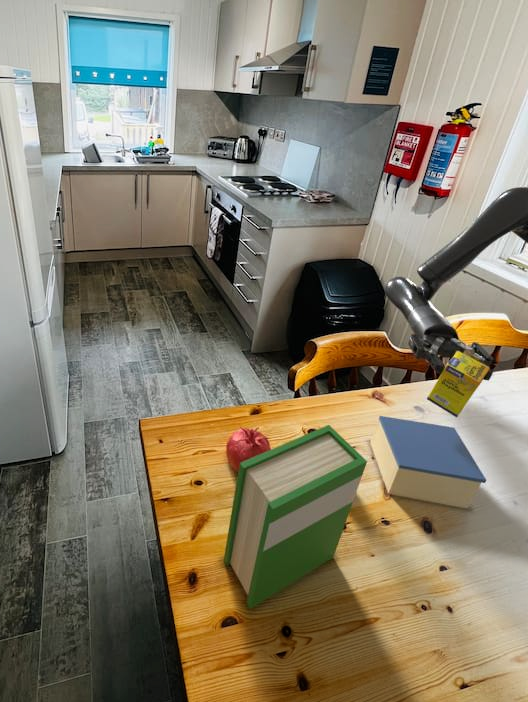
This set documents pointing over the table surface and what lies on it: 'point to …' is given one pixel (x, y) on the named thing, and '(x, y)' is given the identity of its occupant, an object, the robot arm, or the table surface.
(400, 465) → the lid
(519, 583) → the table surface
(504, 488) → the table surface
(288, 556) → the hardback book
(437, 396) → the supplement box
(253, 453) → the pomegranate
